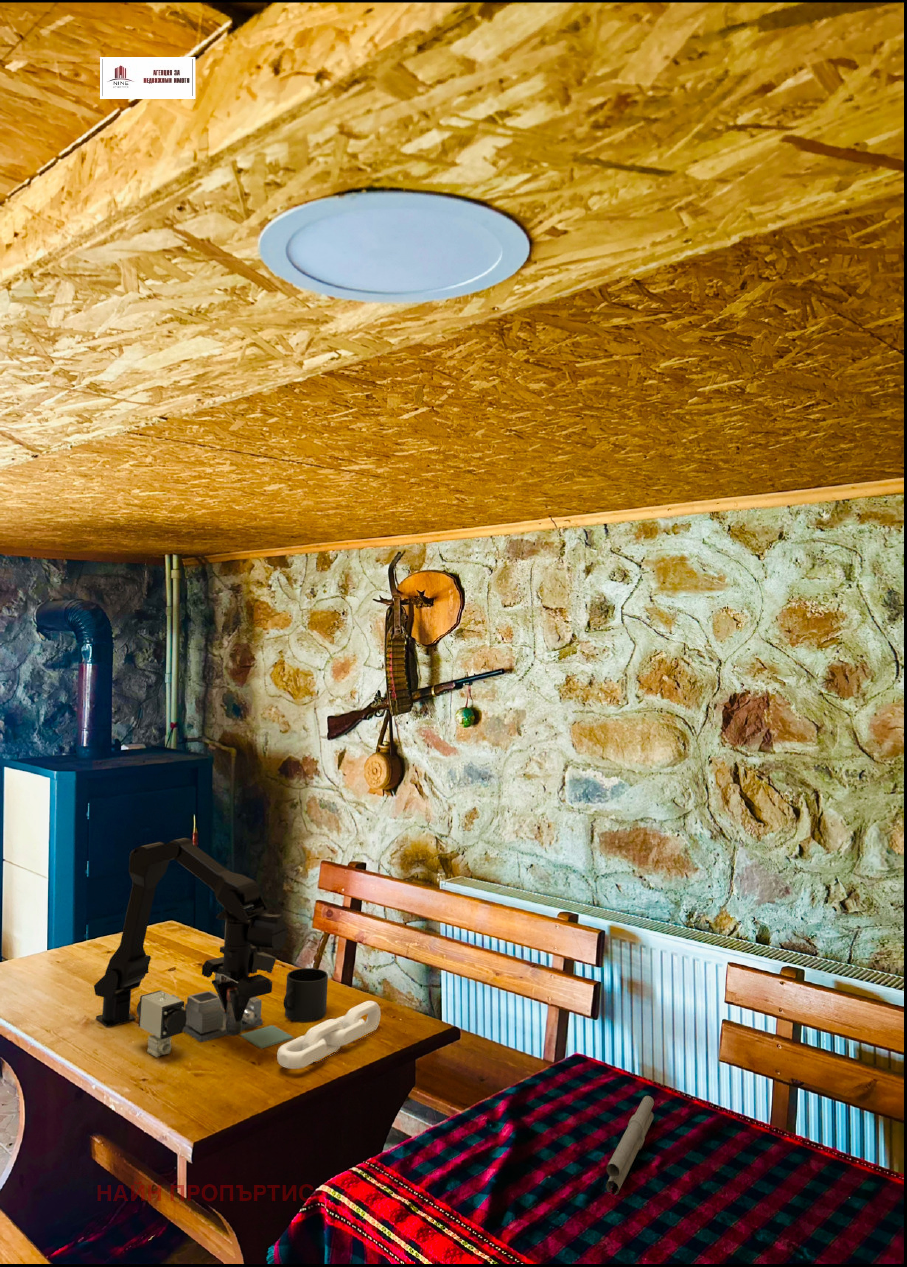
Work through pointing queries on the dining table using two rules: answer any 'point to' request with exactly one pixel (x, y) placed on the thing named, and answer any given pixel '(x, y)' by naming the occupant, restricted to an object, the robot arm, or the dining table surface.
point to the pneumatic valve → (161, 1020)
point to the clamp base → (248, 1021)
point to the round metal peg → (231, 1017)
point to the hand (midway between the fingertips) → (233, 1018)
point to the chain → (329, 1036)
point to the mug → (306, 994)
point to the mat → (266, 1036)
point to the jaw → (204, 1012)
